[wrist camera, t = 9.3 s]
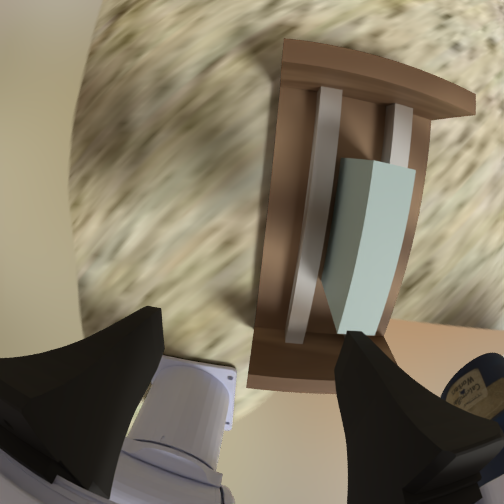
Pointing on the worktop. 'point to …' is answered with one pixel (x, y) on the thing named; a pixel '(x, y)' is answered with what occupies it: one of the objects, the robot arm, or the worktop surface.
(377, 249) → the door panel
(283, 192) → the track base
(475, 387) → the canister
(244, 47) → the worktop surface
